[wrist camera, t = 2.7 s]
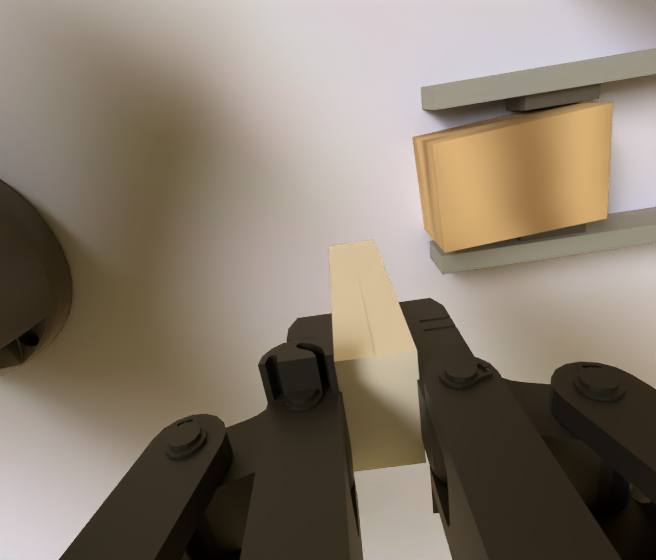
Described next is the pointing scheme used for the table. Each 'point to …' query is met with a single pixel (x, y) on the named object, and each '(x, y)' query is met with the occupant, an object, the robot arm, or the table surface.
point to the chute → (536, 93)
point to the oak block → (515, 174)
